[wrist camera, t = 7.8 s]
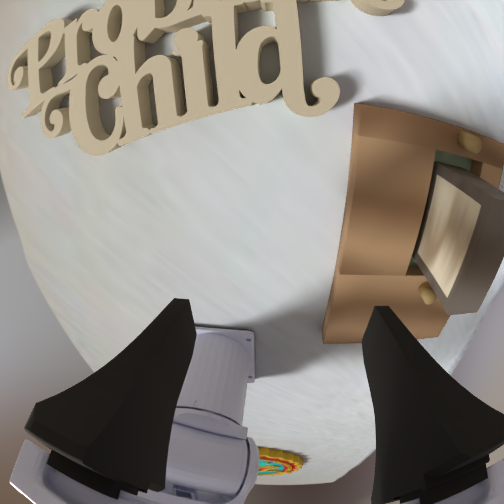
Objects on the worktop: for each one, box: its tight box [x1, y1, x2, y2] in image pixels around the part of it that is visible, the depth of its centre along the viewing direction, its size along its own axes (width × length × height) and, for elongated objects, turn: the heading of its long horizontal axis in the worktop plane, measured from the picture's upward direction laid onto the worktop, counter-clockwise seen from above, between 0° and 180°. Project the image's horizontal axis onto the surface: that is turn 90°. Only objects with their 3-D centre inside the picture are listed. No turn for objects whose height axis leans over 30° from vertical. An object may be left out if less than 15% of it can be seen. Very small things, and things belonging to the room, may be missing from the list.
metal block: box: [412, 161, 504, 315], centre depth 14 cm, size 8×3×7 cm, turn 1°
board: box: [322, 103, 504, 344], centre depth 18 cm, size 20×13×3 cm, turn 1°
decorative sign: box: [7, 0, 405, 156], centre depth 12 cm, size 31×2×15 cm
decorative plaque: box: [257, 448, 303, 476], centre depth 54 cm, size 30×3×30 cm
